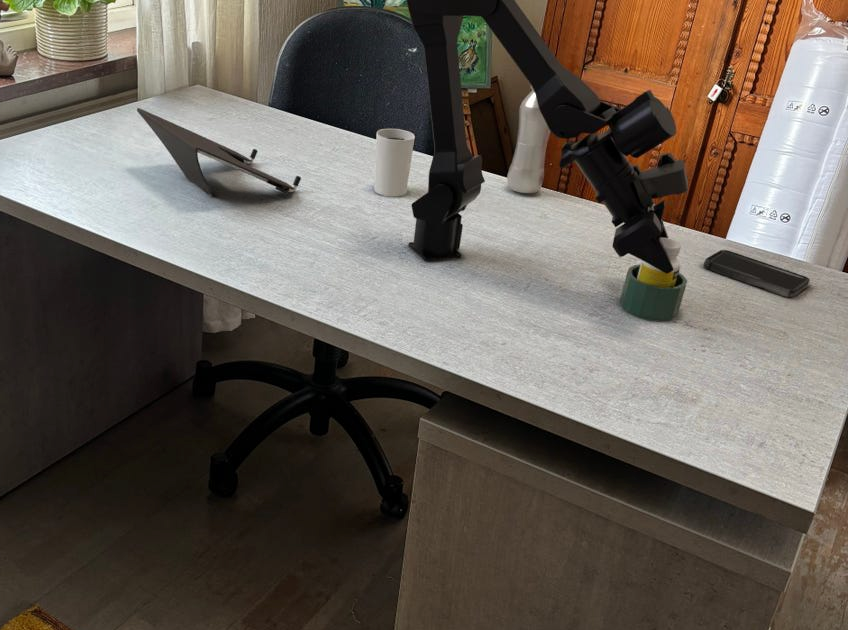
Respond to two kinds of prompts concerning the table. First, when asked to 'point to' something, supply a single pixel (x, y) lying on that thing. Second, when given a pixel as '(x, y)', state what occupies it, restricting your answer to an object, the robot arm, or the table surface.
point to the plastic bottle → (529, 148)
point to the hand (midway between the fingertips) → (670, 264)
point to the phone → (757, 273)
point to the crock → (651, 297)
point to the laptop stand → (205, 153)
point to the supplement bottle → (655, 275)
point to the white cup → (393, 161)
